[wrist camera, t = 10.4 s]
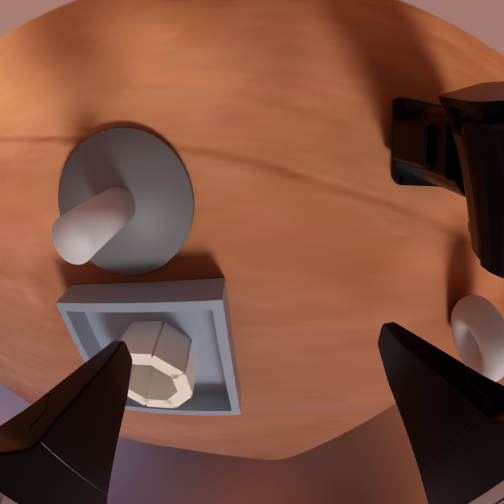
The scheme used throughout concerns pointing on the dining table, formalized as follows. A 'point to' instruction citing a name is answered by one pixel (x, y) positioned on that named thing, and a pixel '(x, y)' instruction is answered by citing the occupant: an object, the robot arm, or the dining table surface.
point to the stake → (123, 203)
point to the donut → (479, 335)
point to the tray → (166, 310)
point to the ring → (160, 364)
